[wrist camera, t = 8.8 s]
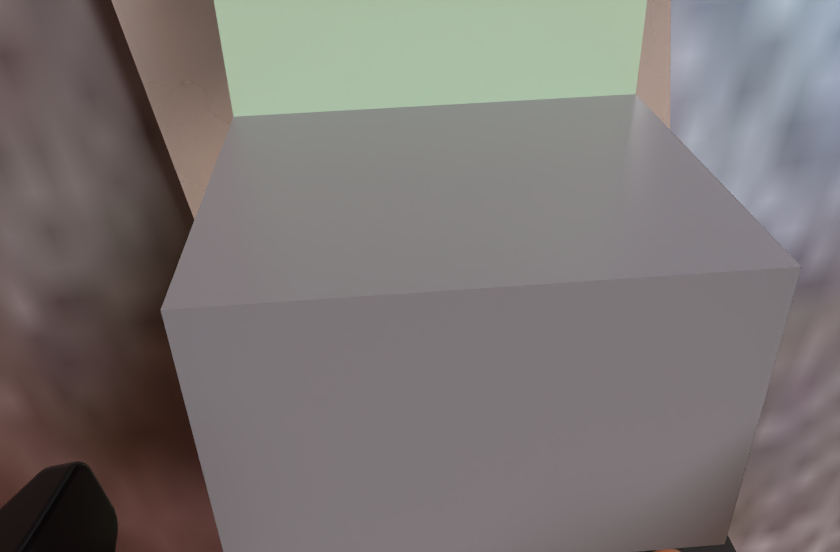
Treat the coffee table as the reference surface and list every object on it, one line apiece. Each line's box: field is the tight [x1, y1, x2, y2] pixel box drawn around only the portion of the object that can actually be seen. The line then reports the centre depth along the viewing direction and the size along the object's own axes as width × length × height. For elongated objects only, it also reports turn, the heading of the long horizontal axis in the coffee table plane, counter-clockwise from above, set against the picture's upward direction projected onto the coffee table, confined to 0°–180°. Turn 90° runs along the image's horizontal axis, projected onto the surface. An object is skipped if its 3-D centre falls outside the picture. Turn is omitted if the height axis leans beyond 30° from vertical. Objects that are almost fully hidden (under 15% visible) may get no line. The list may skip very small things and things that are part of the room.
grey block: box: [161, 0, 801, 552], centre depth 11 cm, size 12×6×6 cm, turn 2°
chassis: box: [111, 0, 671, 220], centre depth 15 cm, size 14×10×4 cm
